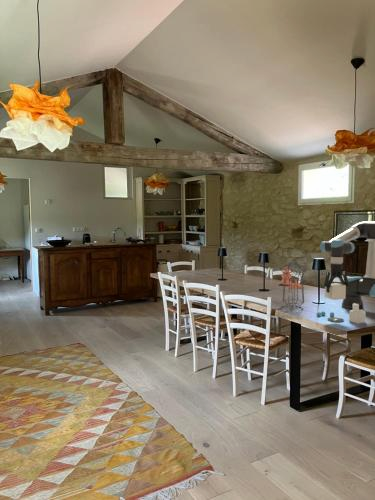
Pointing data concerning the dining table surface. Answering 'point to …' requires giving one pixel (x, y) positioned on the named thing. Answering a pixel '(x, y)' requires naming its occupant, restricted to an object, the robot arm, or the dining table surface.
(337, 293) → the cream cube
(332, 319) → the coaster
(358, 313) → the medicine bottle
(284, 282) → the ceramic vessels
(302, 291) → the geometric lantern
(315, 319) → the dining table surface
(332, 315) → the marble
